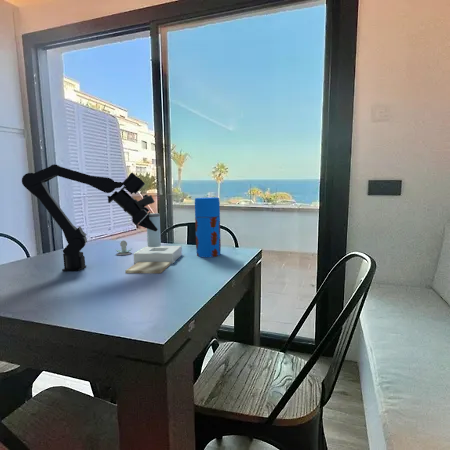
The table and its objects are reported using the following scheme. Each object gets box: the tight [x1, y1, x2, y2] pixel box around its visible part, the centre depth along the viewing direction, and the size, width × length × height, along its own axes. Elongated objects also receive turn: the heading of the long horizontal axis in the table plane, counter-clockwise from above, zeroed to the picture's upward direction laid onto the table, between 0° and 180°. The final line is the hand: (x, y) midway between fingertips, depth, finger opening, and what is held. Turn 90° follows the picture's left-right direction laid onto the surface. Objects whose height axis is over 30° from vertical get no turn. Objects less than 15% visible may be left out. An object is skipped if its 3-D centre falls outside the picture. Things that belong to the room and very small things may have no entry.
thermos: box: [194, 196, 222, 258], centre depth 143 cm, size 11×11×25 cm
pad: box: [125, 262, 172, 274], centre depth 123 cm, size 13×13×1 cm
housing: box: [133, 245, 183, 264], centre depth 138 cm, size 16×16×4 cm
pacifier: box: [115, 240, 133, 256], centre depth 150 cm, size 7×6×6 cm
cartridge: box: [146, 212, 162, 247], centre depth 131 cm, size 5×5×13 cm
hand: (157, 229), depth 131 cm, fingers closed on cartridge, 5 cm apart
